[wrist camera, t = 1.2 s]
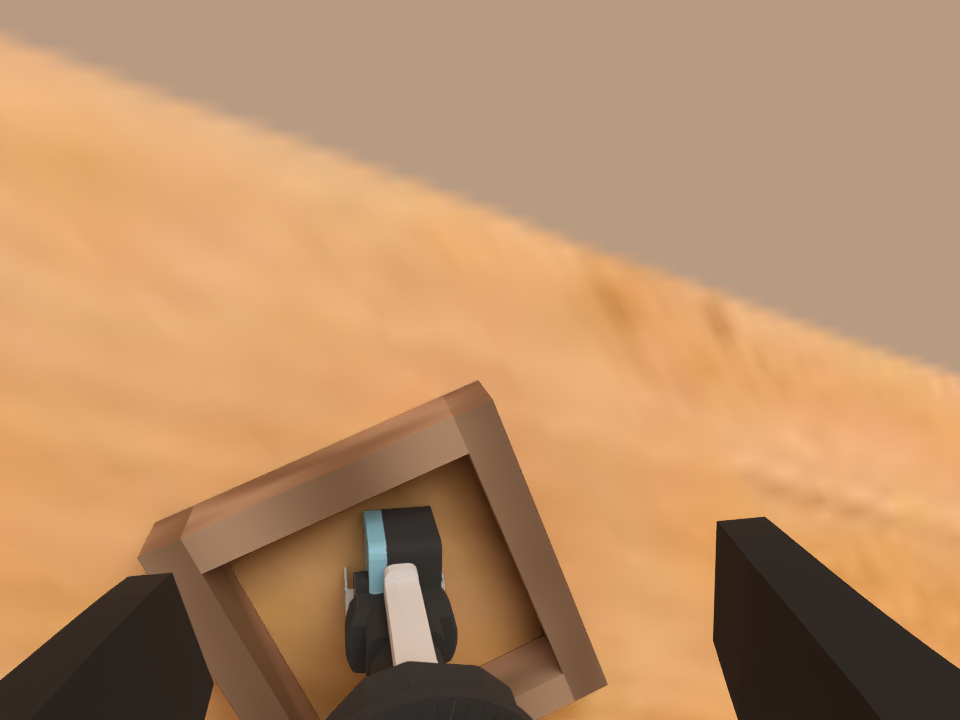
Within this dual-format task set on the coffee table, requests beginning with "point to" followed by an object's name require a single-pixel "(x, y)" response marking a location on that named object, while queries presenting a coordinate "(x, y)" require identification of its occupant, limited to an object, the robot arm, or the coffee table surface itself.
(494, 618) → the coffee table surface
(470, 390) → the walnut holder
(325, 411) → the coffee table surface
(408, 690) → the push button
